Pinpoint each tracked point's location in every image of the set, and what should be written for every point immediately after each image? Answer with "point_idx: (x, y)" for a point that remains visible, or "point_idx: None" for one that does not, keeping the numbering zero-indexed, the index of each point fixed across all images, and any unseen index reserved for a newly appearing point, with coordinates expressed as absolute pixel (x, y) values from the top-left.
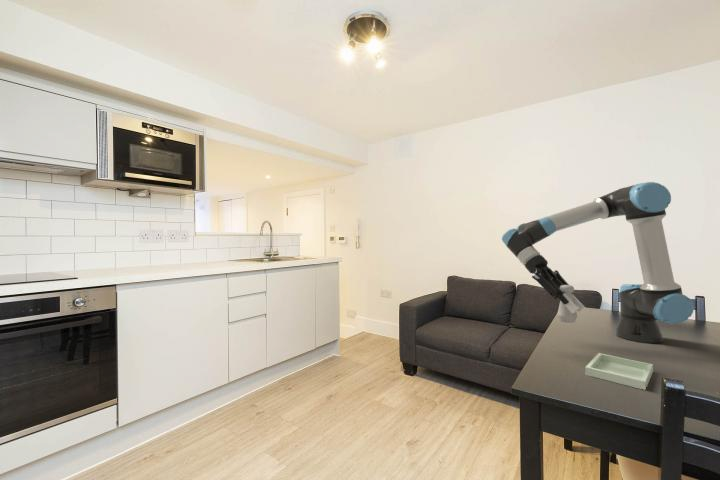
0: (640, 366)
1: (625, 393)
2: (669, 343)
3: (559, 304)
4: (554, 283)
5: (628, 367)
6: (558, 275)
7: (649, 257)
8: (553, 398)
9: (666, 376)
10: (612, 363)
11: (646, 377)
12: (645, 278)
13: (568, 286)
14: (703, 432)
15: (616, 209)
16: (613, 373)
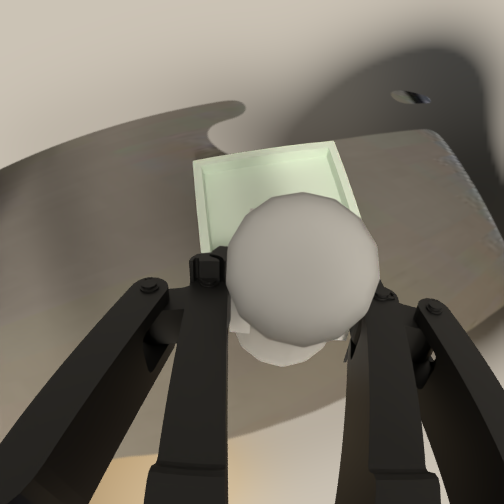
0: (204, 183)
1: (380, 168)
2: None
3: (310, 348)
4: (383, 390)
5: (219, 204)
6: (40, 471)
7: None
8: (500, 235)
9: (205, 151)
10: (219, 236)
11: (304, 144)
12: None
13: (349, 215)
14: (399, 95)
15: None
16: (347, 187)
